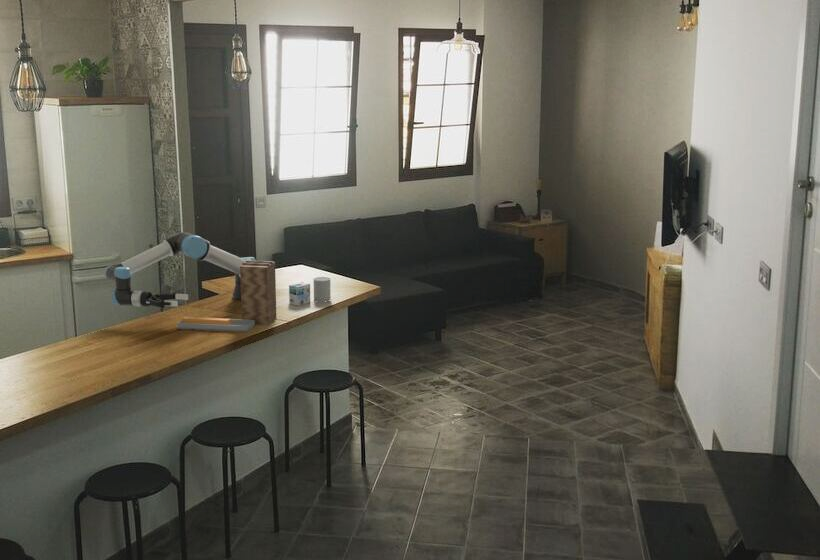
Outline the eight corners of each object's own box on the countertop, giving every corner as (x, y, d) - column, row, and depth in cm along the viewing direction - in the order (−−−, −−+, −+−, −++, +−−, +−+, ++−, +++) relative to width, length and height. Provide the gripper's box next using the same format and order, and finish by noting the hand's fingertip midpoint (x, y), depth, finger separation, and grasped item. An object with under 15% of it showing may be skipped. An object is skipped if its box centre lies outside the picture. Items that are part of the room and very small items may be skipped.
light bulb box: (297, 305, 481) (297, 286, 478) (288, 304, 484) (288, 285, 482) (311, 302, 489) (310, 283, 486) (302, 300, 493) (301, 281, 490)
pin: (182, 325, 438) (182, 318, 437) (185, 323, 441) (184, 316, 440) (228, 327, 434) (228, 320, 434) (230, 325, 438) (230, 318, 437)
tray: (177, 328, 434) (177, 323, 433) (186, 322, 445) (186, 316, 445) (247, 332, 429) (247, 326, 428) (255, 325, 441) (254, 320, 440)
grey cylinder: (311, 298, 496) (311, 277, 493) (328, 297, 499) (327, 276, 497) (316, 302, 487) (315, 281, 485) (332, 301, 491) (332, 280, 488)
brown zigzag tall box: (241, 324, 444) (239, 264, 437) (250, 316, 457) (248, 258, 450) (268, 325, 442) (266, 265, 435) (276, 318, 455) (274, 259, 448)
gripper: (153, 299, 452) (192, 301, 450) (132, 312, 428) (173, 314, 425) (152, 285, 451) (191, 287, 448) (131, 297, 427) (172, 299, 424)
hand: (182, 300), depth 437 cm, fingers open, 13 cm apart
